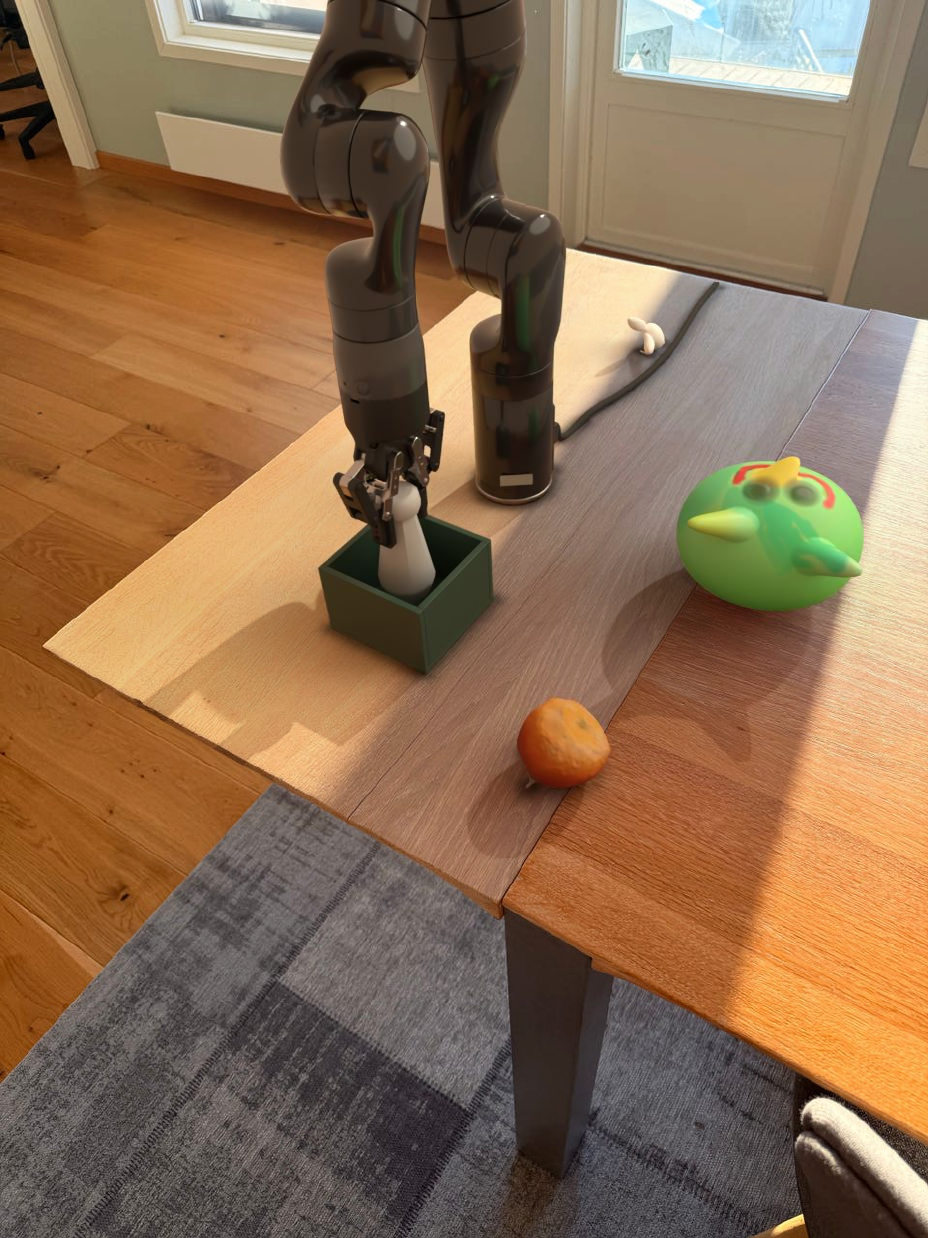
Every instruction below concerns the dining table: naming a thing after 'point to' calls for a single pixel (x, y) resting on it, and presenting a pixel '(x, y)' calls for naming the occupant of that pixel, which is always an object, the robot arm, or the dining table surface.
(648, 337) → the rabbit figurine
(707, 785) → the dining table surface
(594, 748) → the fruit
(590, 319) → the dining table surface
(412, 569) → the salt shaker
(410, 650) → the bin
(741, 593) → the toy bird
